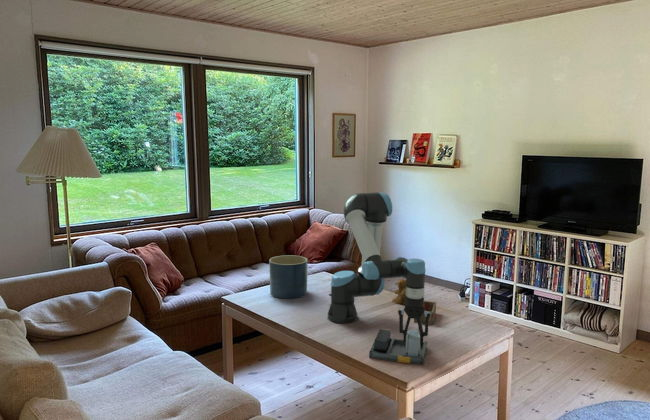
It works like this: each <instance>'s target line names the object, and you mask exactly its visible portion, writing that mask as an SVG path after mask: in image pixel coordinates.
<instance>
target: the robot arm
mask: <svg viewBox="0 0 650 420" xmlns="http://www.w3.org/2000/svg"><path fill="white" fill-rule="evenodd" d="M392 213H393V201H392V198H391V197H390V195H389V194H388V193H386V192H362V193H361V192H358V193H353V194H352V195H350V196H349V198H347V199H346V202H345V203H344V207H343V218H344V220H345V222H346V223H347V224H348V225H349V226H350V229H351V232H352V235H353V237H354V240H355V241H356V244H357V246H358V248H359V251H360V254H361V265H360V266H359V267H358V268H357V273H355V271H353V270H340V271H337V272H335V273H334V274H332V276H331V283H330V286H331V288H330V292H331V293H330V294H331V296H330V299H331V301H330V305H329V308H328V311H327V320H329V321H330V322H333V323H337V324H349V323H354V322H356V321H357V320H358V310H357V308H356V304H355V298H359V297H360V298H361V297H368V296H372V297H373V296H377V295H380V294H381V293H382V292H383V290H384V288H385V287H384V286H385V279H391V278H393V279H394V278H403V279H404V280H406V301H405V305H404V308H399V309H398V310H397V314H398V316H399V319H398V320H399V321H398V322H399V325H398V327H399V331H398V332H399V333H400V334H402V335H403V341H404V342H406V350H408V339H409V332H408V331H409V326H410V322H411V320H412V319H413V320H414V319H417V322H418V323H417V327H418V352H420V344H423V342H424V337H427V336H428V335H429V325H430V324H429V317H430V314H431V312H427V311H425V309H424V301H425V298H424V297H425V281H426V280H425V279H426V262H425V261H424V260H423V259H421V258H409V259H407V258H405V257H402V256H397V257H395V258H393V259H387V260H386V259H385V260H384V259H383V258H382V255H381V245H382V235H383V228H384V227H383V225H384V224H385V223H386V222H387V219H388V217H390V216H392ZM404 313H405V314H406V315H407V319H406V322H405V327H404ZM423 314H425V317H426V320H425V323H424V329H423V323H421V316H422V315H423Z"/></svg>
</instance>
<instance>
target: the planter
mask: <svg viewBox="0 0 650 420" xmlns="http://www.w3.org/2000/svg"><path fill="white" fill-rule="evenodd" d="M268 263H269V264H268V265H269V266H268V268H269V270H268V272H269V289H270V290H269V291H270V292H269V293H270V295H271V296H272V297H273V298H277V299H280V300H281V299H282V300H294V299H299V298H302V297H305V296H306V295H307V293H308V291H307V290H308V269H309V267H308V265H309V264H308V263H309V261H308V258H307V257H304V256H302V255H292V254H291V255H289V254H288V255H287V254H286V255H285V254H284V255H279V256H278V255H277V256H273V257H270V259H269V261H268Z"/></svg>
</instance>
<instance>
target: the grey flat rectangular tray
mask: <svg viewBox="0 0 650 420" xmlns="http://www.w3.org/2000/svg"><path fill="white" fill-rule="evenodd" d="M391 333H392V331H391V330H389V329H381V328H380V329H379V330H378V332H377V335H375V338H374V342H373V344H372V345H371V348H370V350H369V353H368V355H369V356H368V357H369V359H373V360H375V359H376V360H383V361H389V362H397V363H403V364H404V363H405V364H413V365H421V366H423V365H424V361H425V357H426V353H427V347H428V342H427V341H423V344H420V352H418V357H415V356H408V350H406V342H404V341H403V339H402V338H394V337H392V334H391Z"/></svg>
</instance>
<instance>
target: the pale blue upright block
mask: <svg viewBox="0 0 650 420" xmlns="http://www.w3.org/2000/svg"><path fill="white" fill-rule="evenodd" d="M408 333H409V339H408V356H415V357H418V336H419V329H418V330H417V329H408Z"/></svg>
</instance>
